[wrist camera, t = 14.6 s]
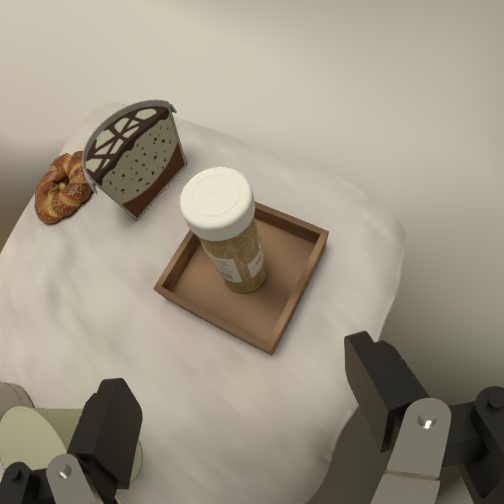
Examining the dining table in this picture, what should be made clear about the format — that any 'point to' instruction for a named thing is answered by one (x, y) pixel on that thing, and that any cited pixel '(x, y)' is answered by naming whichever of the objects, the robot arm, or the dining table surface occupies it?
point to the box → (260, 300)
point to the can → (42, 436)
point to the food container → (135, 155)
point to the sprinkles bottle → (226, 225)
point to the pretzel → (62, 188)
